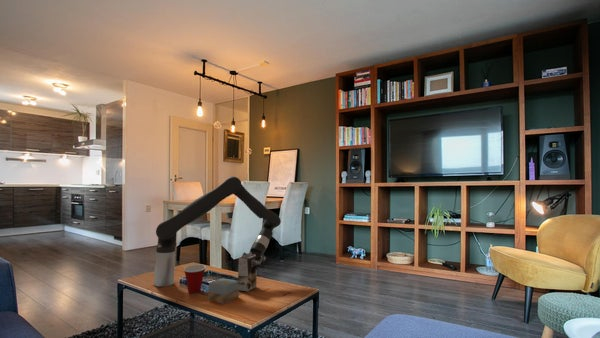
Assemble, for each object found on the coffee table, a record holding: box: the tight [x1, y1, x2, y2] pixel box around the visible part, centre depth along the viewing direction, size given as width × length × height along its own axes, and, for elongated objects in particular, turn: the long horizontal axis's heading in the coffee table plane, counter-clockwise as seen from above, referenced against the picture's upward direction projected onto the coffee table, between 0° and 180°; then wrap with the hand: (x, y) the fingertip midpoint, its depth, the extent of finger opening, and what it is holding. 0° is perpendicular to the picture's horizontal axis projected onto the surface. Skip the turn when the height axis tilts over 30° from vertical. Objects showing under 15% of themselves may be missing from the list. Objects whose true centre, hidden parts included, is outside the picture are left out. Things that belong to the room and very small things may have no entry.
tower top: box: [208, 277, 238, 295], centre depth 148 cm, size 10×10×4 cm
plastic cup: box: [182, 263, 207, 294], centre depth 157 cm, size 11×11×12 cm
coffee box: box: [237, 255, 258, 292], centre depth 162 cm, size 9×6×16 cm
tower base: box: [206, 289, 240, 305], centre depth 147 cm, size 10×10×4 cm
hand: (245, 272), depth 161 cm, fingers closed on coffee box, 7 cm apart
